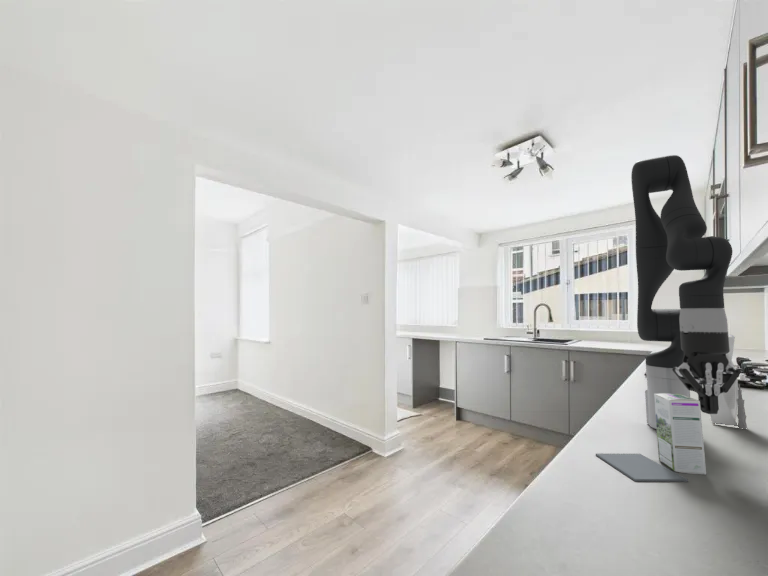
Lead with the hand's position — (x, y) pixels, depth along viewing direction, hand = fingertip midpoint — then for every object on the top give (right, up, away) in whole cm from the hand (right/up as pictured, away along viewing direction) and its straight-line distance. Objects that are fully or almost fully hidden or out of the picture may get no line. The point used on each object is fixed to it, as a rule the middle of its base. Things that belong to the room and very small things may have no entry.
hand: (709, 412), depth 71 cm
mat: (-15, -11, -1) cm, 19 cm away
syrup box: (-6, -11, -1) cm, 13 cm away
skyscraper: (+31, -14, +28) cm, 44 cm away
